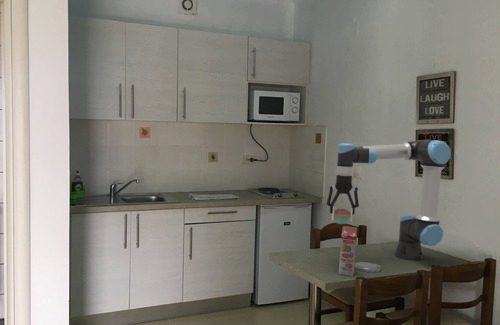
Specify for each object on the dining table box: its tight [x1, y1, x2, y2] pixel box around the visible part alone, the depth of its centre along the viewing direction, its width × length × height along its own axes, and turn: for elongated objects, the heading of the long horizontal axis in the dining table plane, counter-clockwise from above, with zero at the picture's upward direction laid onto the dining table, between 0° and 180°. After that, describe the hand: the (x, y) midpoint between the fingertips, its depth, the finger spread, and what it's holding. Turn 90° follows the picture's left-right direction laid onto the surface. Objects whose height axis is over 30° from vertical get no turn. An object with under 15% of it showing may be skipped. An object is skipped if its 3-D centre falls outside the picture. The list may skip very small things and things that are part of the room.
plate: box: [354, 261, 382, 273], centre depth 227 cm, size 13×13×1 cm
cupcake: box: [334, 198, 351, 225], centre depth 227 cm, size 9×8×12 cm
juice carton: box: [338, 225, 358, 277], centre depth 217 cm, size 7×7×22 cm
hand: (341, 220), depth 228 cm, fingers closed on cupcake, 8 cm apart
